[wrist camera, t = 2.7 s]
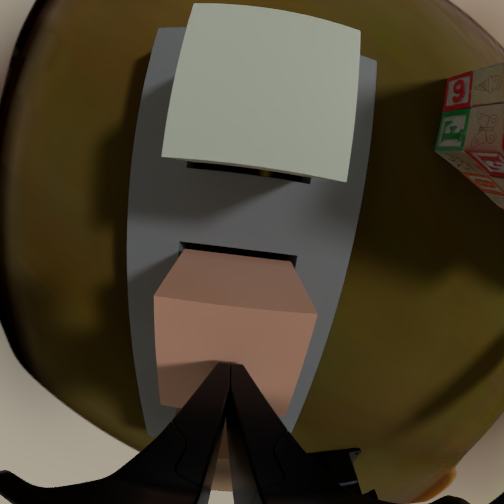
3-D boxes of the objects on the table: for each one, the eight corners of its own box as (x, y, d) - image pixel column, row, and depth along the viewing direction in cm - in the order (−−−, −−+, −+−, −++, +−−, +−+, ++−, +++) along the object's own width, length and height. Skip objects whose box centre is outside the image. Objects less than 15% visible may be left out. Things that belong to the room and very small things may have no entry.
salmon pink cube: (272, 347, 14) (285, 416, 10) (181, 337, 14) (160, 404, 9) (290, 261, 13) (317, 313, 8) (184, 248, 13) (153, 295, 8)
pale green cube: (305, 176, 12) (346, 182, 7) (193, 161, 11) (161, 156, 7) (318, 75, 10) (360, 30, 6) (210, 59, 10) (194, 3, 5)
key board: (281, 431, 20) (283, 449, 18) (153, 418, 19) (148, 435, 17) (361, 71, 12) (376, 61, 10) (167, 43, 11) (158, 28, 9)
